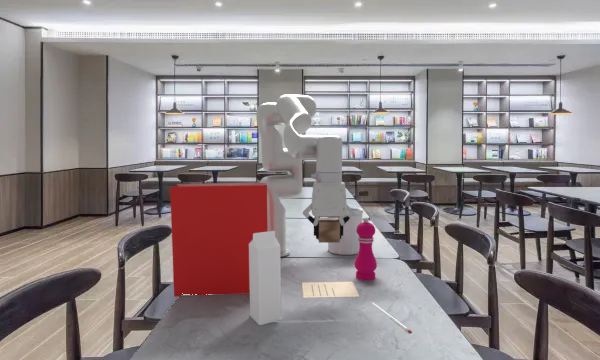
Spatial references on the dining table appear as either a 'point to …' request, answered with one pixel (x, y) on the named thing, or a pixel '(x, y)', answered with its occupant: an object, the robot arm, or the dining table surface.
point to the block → (329, 230)
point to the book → (215, 235)
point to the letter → (329, 289)
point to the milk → (265, 278)
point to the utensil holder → (348, 235)
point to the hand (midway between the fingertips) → (328, 237)
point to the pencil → (393, 319)
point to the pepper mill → (365, 252)
